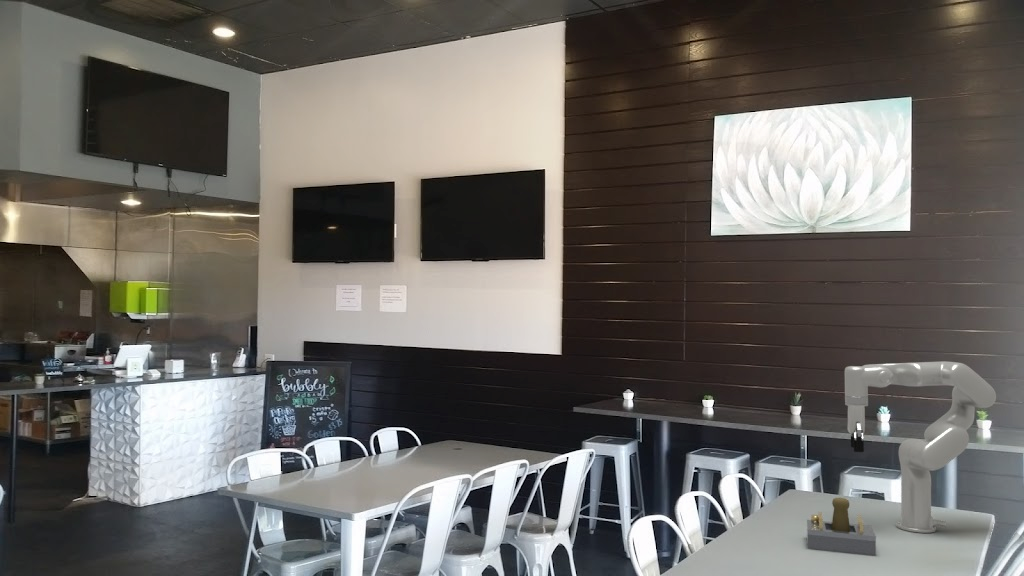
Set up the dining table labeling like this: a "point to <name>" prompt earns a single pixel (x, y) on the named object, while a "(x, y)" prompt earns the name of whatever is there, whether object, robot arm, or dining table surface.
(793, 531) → the dining table surface
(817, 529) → the grey slotted box
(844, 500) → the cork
